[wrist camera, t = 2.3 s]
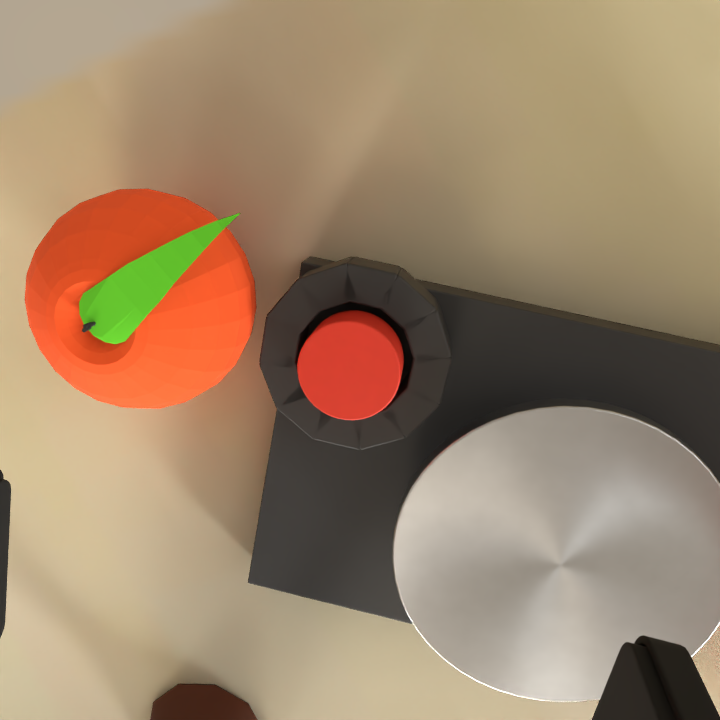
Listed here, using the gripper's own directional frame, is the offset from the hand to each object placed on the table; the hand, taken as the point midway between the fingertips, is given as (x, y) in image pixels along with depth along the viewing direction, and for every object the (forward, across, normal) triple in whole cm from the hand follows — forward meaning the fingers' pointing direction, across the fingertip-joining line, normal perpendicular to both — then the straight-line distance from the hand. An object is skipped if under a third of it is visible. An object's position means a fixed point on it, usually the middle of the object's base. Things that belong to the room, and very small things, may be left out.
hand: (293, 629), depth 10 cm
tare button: (+13, +1, 0) cm, 13 cm away
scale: (+15, -5, +4) cm, 16 cm away
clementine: (+15, +8, -1) cm, 17 cm away
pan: (+12, -7, +5) cm, 15 cm away
